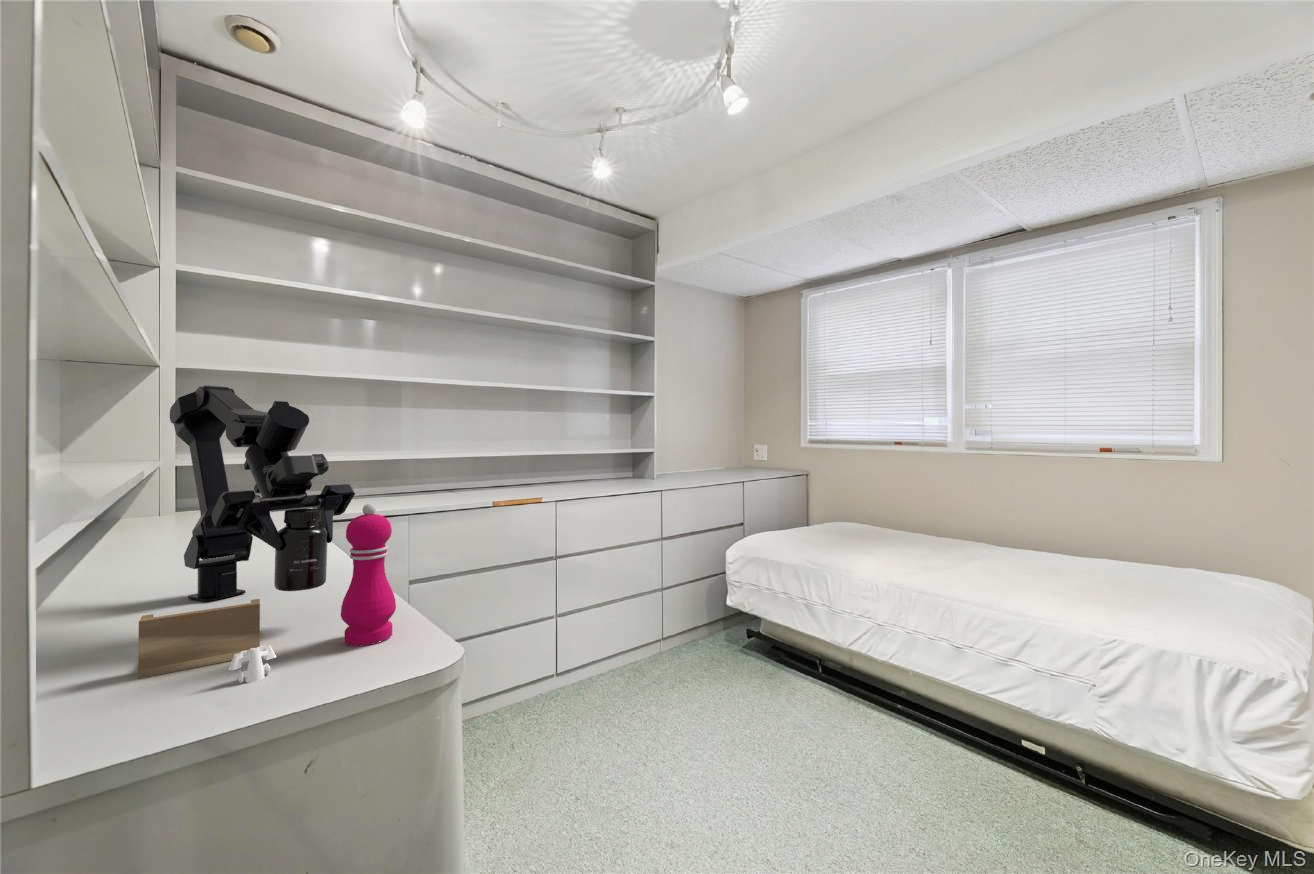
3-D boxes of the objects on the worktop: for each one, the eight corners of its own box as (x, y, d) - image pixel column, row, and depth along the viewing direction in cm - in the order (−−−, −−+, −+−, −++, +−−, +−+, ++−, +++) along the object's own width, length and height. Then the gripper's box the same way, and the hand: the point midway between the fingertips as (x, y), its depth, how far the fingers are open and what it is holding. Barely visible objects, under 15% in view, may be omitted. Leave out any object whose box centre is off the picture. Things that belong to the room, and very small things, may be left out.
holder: (151, 651, 74) (151, 600, 74) (258, 632, 82) (258, 586, 82) (138, 678, 66) (138, 621, 66) (259, 654, 73) (259, 603, 73)
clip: (274, 669, 68) (274, 640, 68) (280, 673, 67) (281, 643, 67) (226, 684, 64) (226, 653, 64) (232, 688, 63) (232, 656, 63)
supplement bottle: (300, 593, 80) (301, 513, 80) (263, 590, 81) (264, 512, 81) (337, 581, 87) (337, 508, 87) (301, 579, 88) (302, 506, 88)
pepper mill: (405, 630, 82) (406, 501, 82) (376, 648, 75) (377, 506, 75) (361, 629, 83) (362, 500, 83) (328, 647, 76) (329, 506, 76)
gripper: (220, 437, 78) (253, 519, 72) (349, 438, 94) (385, 505, 88) (198, 488, 82) (228, 569, 76) (326, 480, 98) (358, 547, 92)
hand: (306, 544), depth 83 cm, fingers closed on supplement bottle, 7 cm apart
